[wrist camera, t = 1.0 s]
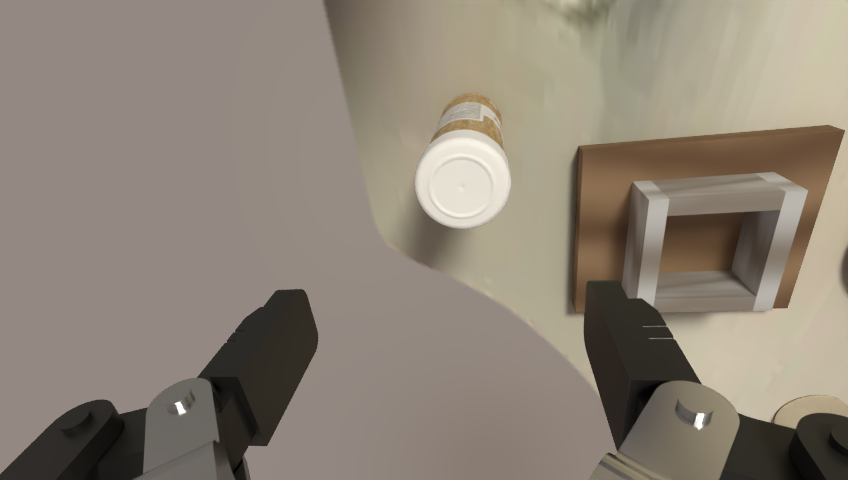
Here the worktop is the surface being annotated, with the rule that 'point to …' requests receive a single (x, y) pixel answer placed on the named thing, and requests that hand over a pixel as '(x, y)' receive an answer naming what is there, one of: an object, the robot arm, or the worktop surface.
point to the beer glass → (809, 409)
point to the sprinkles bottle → (465, 165)
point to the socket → (701, 217)
